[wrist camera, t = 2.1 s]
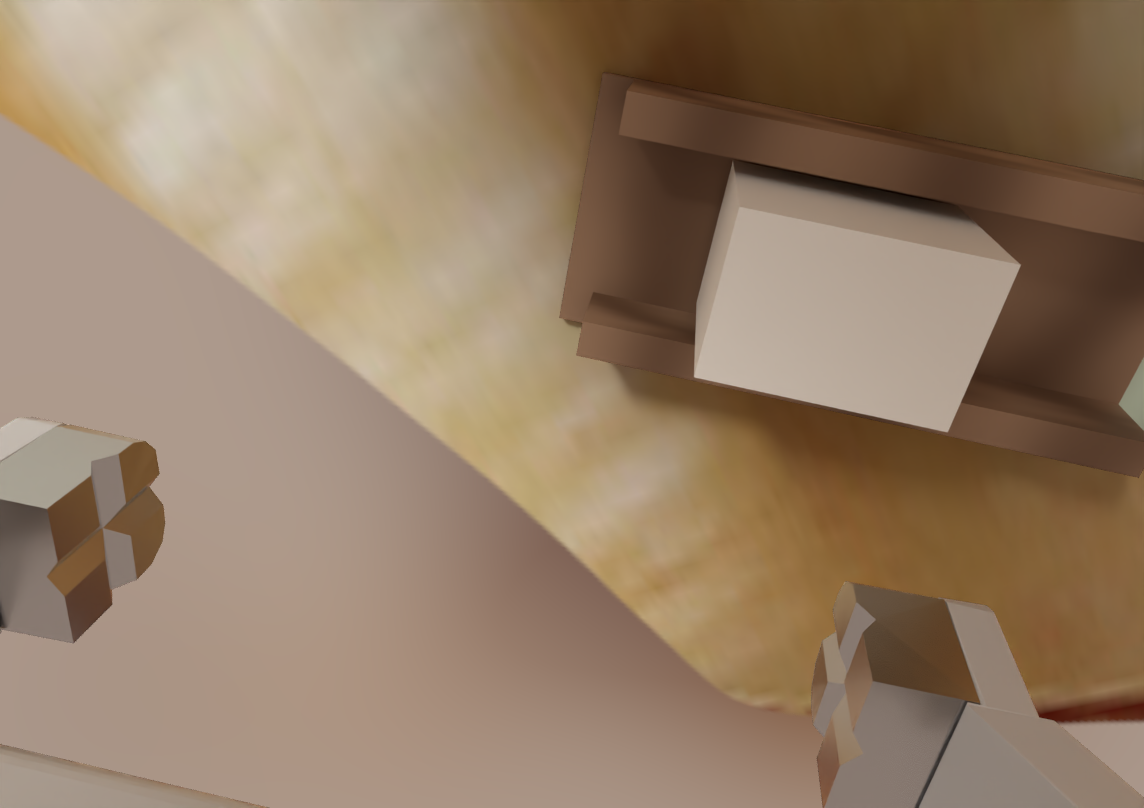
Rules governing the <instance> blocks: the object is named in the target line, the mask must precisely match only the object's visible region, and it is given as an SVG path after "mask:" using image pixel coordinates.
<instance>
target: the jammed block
mask: <svg viewBox="0 0 1144 808" xmlns="http://www.w3.org/2000/svg"><path fill="white" fill-rule="evenodd" d="M1020 266H1021V265H1020V264H1019V263H1018V262H1017V261H1016V260H1015V259H1014V258H1013V257H1012V256H1011V255H1010V254H1008V253H1007V252H1006V251H1005V250H1004V249H1003V248H1002V247H1001V246H1000V245H999V244H998V243H997V242H996V241H995V240H993V239H992V238H991V237H990V236H989V235H988V234H987V233H986V232H985V231H984V230H983V229H982V228H981V227H979V226H978V225H977V224H976V223H975V222H974V221H973V220H972V219H971V218H970V217H969V216H968V215H967V214H966V213H964V212H963V211H962V210H961V209H960V208H959V207H958V206H955V205H950V204H945V203H940V202H935V201H930V200H926V199H921V198H916V197H911V196H906V195H901V194H896V193H891V192H886V191H882V190H877V189H872V188H867V187H862V186H857V185H852V184H847V183H843V182H838V181H833V180H828V179H823V178H818V177H813V176H808V175H803V174H799V173H794V172H789V171H784V170H779V169H774V168H769V167H764V166H760V165H755V164H750V163H745V162H740V161H735V160H733V162H732V166H731V170H730V174H729V178H728V182H727V186H726V189H725V193H724V197H723V201H722V205H721V209H720V213H719V217H718V221H717V225H716V228H715V232H714V236H713V240H712V244H711V248H710V252H709V256H708V260H707V264H706V267H705V271H704V275H703V279H702V283H701V287H700V291H699V295H698V299H697V303H696V330H695V359H694V377H695V378H699V379H704V380H709V381H713V382H718V383H722V384H727V385H732V386H736V387H741V388H745V389H750V390H755V391H759V392H764V393H768V394H773V395H778V396H782V397H787V398H791V399H796V400H801V401H805V402H810V403H814V404H819V405H824V406H828V407H833V408H837V409H842V410H847V411H851V412H856V413H860V414H865V415H870V416H874V417H879V418H883V419H888V420H893V421H897V422H902V423H906V424H911V425H916V426H920V427H925V428H929V429H934V430H939V431H943V432H948V431H949V428H950V426H951V424H952V421H953V419H954V417H955V415H956V412H957V410H958V408H959V405H960V403H961V401H962V399H963V396H964V394H965V392H966V389H967V387H968V385H969V383H970V380H971V378H972V376H973V373H974V371H975V369H976V367H977V364H978V362H979V360H980V357H981V355H982V353H983V351H984V348H985V346H986V344H987V341H988V339H989V337H990V335H991V332H992V330H993V328H994V325H995V323H996V321H997V319H998V316H999V314H1000V312H1001V309H1002V307H1003V305H1004V303H1005V300H1006V298H1007V296H1008V293H1009V291H1010V289H1011V287H1012V284H1013V282H1014V280H1015V277H1016V275H1017V273H1018V271H1019V268H1020Z"/></svg>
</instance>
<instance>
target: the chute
mask: <svg viewBox="0 0 1144 808" xmlns="http://www.w3.org/2000/svg"><path fill="white" fill-rule="evenodd" d="M733 160H735V161H740V162H745V163H750V164H755V165H760V166H764V167H769V168H774V169H779V170H784V171H789V172H794V173H799V174H803V175H808V176H813V177H818V178H823V179H828V180H833V181H838V182H843V183H847V184H852V185H857V186H862V187H867V188H872V189H877V190H882V191H886V192H891V193H896V194H901V195H906V196H911V197H916V198H921V199H926V200H930V201H935V202H940V203H945V204H950V205H955V206H958V207H959V208H960V209H961V210H962V211H963V212H964V213H966V214H967V215H968V216H969V217H970V218H971V219H972V220H973V221H974V222H975V223H976V224H977V225H978V226H979V227H981V228H982V229H983V230H984V231H985V232H986V233H987V234H988V235H989V236H990V237H991V238H992V239H993V240H995V241H996V242H997V243H998V244H999V245H1000V246H1001V247H1002V248H1003V249H1004V250H1005V251H1006V252H1007V253H1008V254H1010V255H1011V256H1012V257H1013V258H1014V259H1015V260H1016V261H1017V262H1018V263H1019V264H1020V265H1021V266H1020V268H1019V271H1018V273H1017V275H1016V277H1015V280H1014V282H1013V284H1012V287H1011V289H1010V291H1009V293H1008V296H1007V298H1006V300H1005V303H1004V305H1003V307H1002V309H1001V312H1000V314H999V316H998V319H997V321H996V323H995V325H994V328H993V330H992V332H991V335H990V337H989V339H988V341H987V344H986V346H985V348H984V351H983V353H982V355H981V357H980V360H979V362H978V364H977V367H976V369H975V371H974V373H973V376H972V378H971V380H970V383H969V385H968V387H967V389H966V392H965V394H964V396H963V399H962V401H961V403H960V405H959V408H958V410H957V412H956V415H955V417H954V419H953V421H952V424H951V426H950V428H949V431H948V432H943V431H939V430H934V429H929V428H925V427H920V426H916V425H911V424H906V423H902V422H897V421H893V420H888V419H883V418H879V417H874V416H870V415H865V414H860V413H856V412H851V411H847V410H842V409H837V408H833V407H828V406H824V405H819V404H814V403H810V402H805V401H801V400H796V399H791V398H787V397H782V396H778V395H773V394H768V393H764V392H759V391H755V390H750V389H745V388H741V387H736V386H732V385H727V384H722V383H718V382H713V381H709V380H704V379H699V378H695V377H694V359H695V330H696V303H697V299H698V295H699V291H700V287H701V283H702V279H703V275H704V271H705V267H706V264H707V260H708V256H709V252H710V248H711V244H712V240H713V236H714V232H715V228H716V225H717V221H718V217H719V213H720V209H721V205H722V201H723V197H724V193H725V189H726V186H727V182H728V178H729V174H730V170H731V166H732V162H733ZM559 318H563V319H567V320H572V321H577V322H581V323H582V328H581V333H580V338H579V344H578V349H577V354H576V355H577V356H582V357H586V358H591V359H596V360H600V361H605V362H609V363H614V364H619V365H623V366H628V367H632V368H637V369H641V370H646V371H651V372H655V373H660V374H664V375H669V376H674V377H678V378H683V379H687V380H692V381H697V382H701V383H706V384H710V385H715V386H720V387H724V388H729V389H733V390H738V391H743V392H747V393H752V394H756V395H761V396H766V397H770V398H775V399H779V400H784V401H789V402H793V403H798V404H802V405H807V406H812V407H816V408H821V409H825V410H830V411H835V412H839V413H844V414H848V415H853V416H858V417H862V418H867V419H871V420H876V421H881V422H885V423H890V424H894V425H899V426H903V427H908V428H913V429H917V430H922V431H926V432H931V433H936V434H940V435H945V436H949V437H954V438H959V439H963V440H968V441H972V442H977V443H982V444H986V445H991V446H995V447H1000V448H1005V449H1009V450H1014V451H1018V452H1023V453H1028V454H1032V455H1037V456H1041V457H1046V458H1051V459H1055V460H1060V461H1064V462H1069V463H1074V464H1078V465H1083V466H1087V467H1092V468H1097V469H1101V470H1106V471H1110V472H1115V473H1120V474H1124V475H1129V476H1133V477H1138V478H1139V476H1140V475H1141V473H1142V471H1143V469H1144V180H1139V179H1134V178H1129V177H1124V176H1119V175H1114V174H1109V173H1104V172H1099V171H1094V170H1089V169H1084V168H1079V167H1074V166H1069V165H1064V164H1059V163H1054V162H1049V161H1044V160H1039V159H1034V158H1030V157H1025V156H1020V155H1015V154H1010V153H1005V152H1000V151H995V150H990V149H985V148H980V147H975V146H970V145H965V144H960V143H955V142H950V141H945V140H940V139H935V138H930V137H925V136H920V135H915V134H910V133H905V132H900V131H895V130H890V129H886V128H881V127H876V126H871V125H866V124H861V123H856V122H851V121H846V120H841V119H836V118H831V117H826V116H821V115H816V114H811V113H806V112H801V111H796V110H791V109H786V108H781V107H776V106H771V105H766V104H761V103H756V102H751V101H746V100H742V99H737V98H732V97H727V96H722V95H717V94H712V93H707V92H702V91H697V90H692V89H687V88H682V87H677V86H672V85H667V84H662V83H657V82H652V81H647V80H642V79H637V78H632V77H627V76H622V75H617V74H612V73H607V72H603V74H602V80H601V86H600V91H599V97H598V103H597V108H596V114H595V120H594V125H593V131H592V137H591V142H590V148H589V153H588V159H587V165H586V170H585V176H584V182H583V187H582V193H581V199H580V204H579V210H578V215H577V221H576V227H575V232H574V238H573V244H572V249H571V255H570V261H569V266H568V272H567V278H566V283H565V289H564V294H563V300H562V306H561V311H560V317H559Z"/></svg>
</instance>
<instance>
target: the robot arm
mask: <svg viewBox="0 0 1144 808" xmlns="http://www.w3.org/2000/svg"><path fill="white" fill-rule="evenodd" d="M158 475H159V467H158V462H157V456H156V450H155V449H154V448H153V447H152V446H150V445H149V444H148V443H147V442H146V441H142V440H138V439H133V438H128V437H124V436H119V435H115V434H111V433H106V432H102V431H97V430H92V429H88V428H84V427H79V426H74V425H67V424H64V423H60V422H55V421H50V420H45V419H40V418H34V417H26V418H25V417H24V418H16V419H15V420H13V421H11V422H10V423H8V424H6V425H5V426H3V427H1V428H0V633H1V629H2V630H7V631H12V632H17V633H22V634H28V635H33V636H38V637H43V638H49V639H54V640H59V641H64V642H70V643H74V642H75V641H76V640H77V639H78V638H79V637H80V636H81V635H82V634H83V633H84V632H85V631H86V630H87V629H88V628H89V627H90V626H91V625H92V624H93V623H94V622H95V621H96V620H97V619H98V618H99V617H100V616H101V615H102V614H103V613H104V612H105V611H106V610H107V609H108V608H109V607H110V606H111V605H112V589H114V588H117V587H120V586H122V585H125V584H127V583H130V582H132V581H135V580H137V579H138V578H139V577H140V576H141V575H142V574H143V573H144V572H145V571H146V569H147V568H148V567H149V566H150V565H151V564H152V562H153V560H154V558H155V556H156V554H157V552H158V550H159V548H160V545H161V544H162V541H163V534H164V527H165V517H164V508H163V504H162V503H161V501H160V500H159V499H158V497H157V496H156V495H155V494H154V492H153V491H152V490H151V488H150V485H151V484H152V483H153V482H154V480H155V479H156V478H157V476H158ZM833 614H834V621H835V627H836V632H835V633H833V634H832V635H830V636H829V637H827V638H825V639H824V640H822V644H821V647H820V650H819V654H818V657H817V660H816V663H815V670H814V676H813V682H812V696H811V708H812V719H813V725H814V727H815V728H816V729H817V730H818V731H819V733H820V734H821V735H822V736H823V737H824V739H823V742H822V745H821V748H820V751H819V754H818V756H817V763H818V772H819V781H820V789H821V797H822V805H823V808H1144V797H1142V796H1141V795H1140V794H1139V793H1138V792H1136V790H1134V789H1133V788H1132V787H1131V786H1130V785H1129V784H1127V783H1126V782H1125V781H1124V780H1123V779H1122V778H1120V777H1119V776H1118V775H1117V774H1116V773H1114V772H1113V771H1112V770H1111V769H1110V768H1109V767H1108V766H1106V765H1105V764H1104V763H1103V762H1102V761H1101V760H1099V759H1098V758H1097V757H1096V756H1095V755H1094V754H1093V753H1091V752H1090V751H1089V750H1088V749H1087V748H1085V747H1084V746H1083V745H1082V744H1081V743H1080V742H1079V741H1077V740H1076V739H1075V738H1074V737H1073V736H1071V735H1070V734H1069V733H1068V732H1067V731H1066V730H1064V729H1063V728H1062V727H1061V726H1060V725H1059V724H1058V723H1057V722H1055V721H1053V720H1049V719H1044V718H1039V716H1038V713H1037V711H1036V709H1035V706H1034V704H1033V702H1032V699H1031V697H1030V695H1029V692H1028V690H1027V688H1026V685H1025V683H1024V681H1023V678H1022V676H1021V674H1020V671H1019V669H1018V667H1017V664H1016V662H1015V660H1014V658H1013V655H1012V653H1011V651H1010V648H1009V646H1008V644H1007V641H1006V639H1005V637H1004V634H1003V632H1002V630H1001V627H1000V625H999V623H998V620H997V618H996V616H995V613H994V611H992V610H991V609H990V608H989V607H988V606H986V605H981V604H975V603H969V602H963V601H957V600H951V599H945V598H933V597H928V596H922V595H917V594H912V593H906V592H901V591H896V590H890V589H885V588H880V587H874V586H869V585H863V584H858V583H853V582H847V581H845V583H844V585H843V586H842V588H841V590H840V591H839V594H838V596H837V599H836V602H835V605H834V608H833ZM0 808H268V807H264V806H260V805H255V804H252V803H247V802H243V801H239V800H234V799H230V798H226V797H222V796H218V795H214V794H209V793H205V792H201V791H197V790H192V789H188V788H184V787H180V786H175V785H171V784H167V783H163V782H159V781H154V780H150V779H146V778H142V777H137V776H133V775H129V774H125V773H120V772H116V771H112V770H108V769H104V768H99V767H95V766H91V765H87V764H82V763H78V762H74V761H70V760H65V759H61V758H57V757H53V756H48V755H44V754H40V753H36V752H32V751H28V750H23V749H19V748H15V747H11V746H7V745H2V744H0Z"/></svg>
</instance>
